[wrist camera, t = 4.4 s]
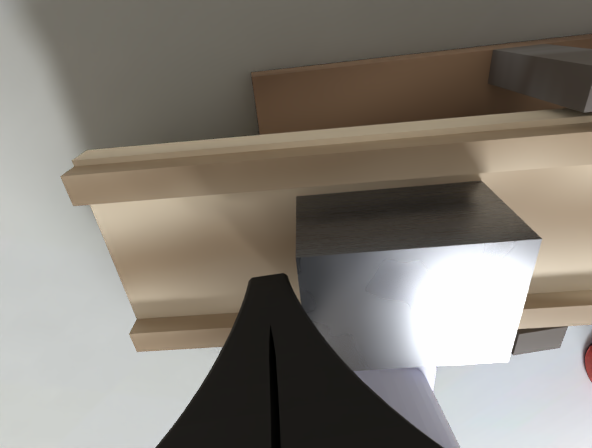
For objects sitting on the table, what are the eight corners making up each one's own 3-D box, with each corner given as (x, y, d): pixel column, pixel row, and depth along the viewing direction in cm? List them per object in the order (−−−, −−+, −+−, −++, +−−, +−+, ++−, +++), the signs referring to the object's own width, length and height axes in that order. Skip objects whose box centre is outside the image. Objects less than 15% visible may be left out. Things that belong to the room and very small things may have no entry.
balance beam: (930, 273, 15) (1002, 304, 14) (153, 322, 17) (138, 355, 15) (1134, 58, 11) (1270, 66, 10) (87, 150, 13) (57, 170, 11)
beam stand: (635, 240, 21) (762, 315, 16) (281, 292, 20) (294, 390, 15) (731, 17, 16) (972, 21, 10) (251, 72, 15) (254, 107, 9)
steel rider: (464, 286, 14) (508, 362, 11) (307, 297, 15) (309, 373, 12) (481, 180, 12) (542, 238, 9) (296, 196, 12) (295, 257, 9)
